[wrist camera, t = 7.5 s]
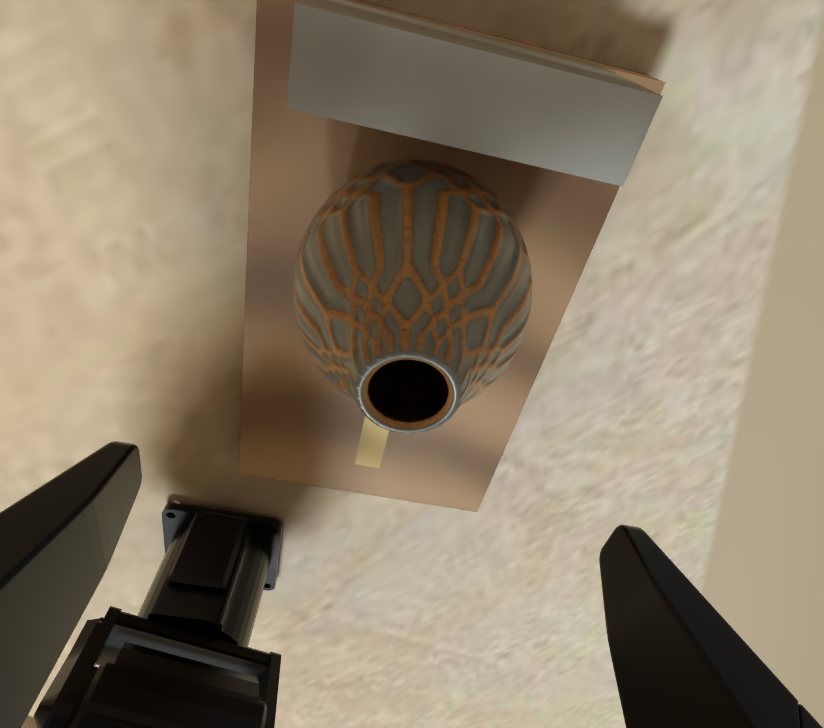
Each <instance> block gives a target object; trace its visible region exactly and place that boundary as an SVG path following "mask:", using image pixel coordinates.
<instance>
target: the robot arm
mask: <svg viewBox="0 0 824 728" xmlns="http://www.w3.org/2000/svg"><path fill="white" fill-rule="evenodd" d="M141 479H142V474H141V464H140V455H139V449H138V447H137V446H136V445H134V444H130V443H123V442H117V441H114V442H111V443H108V444H107V445H105V446H104V447H102V448H100V449H99V450H97V451H96V452H94V453H93V454H91V455H90V456H88V457H86V458H85V459H83V460H82V461H80V462H79V463H77V464H75V465H74V466H72V467H71V468H69V469H68V470H66V471H65V472H63V473H61V474H60V475H58V476H57V477H55V478H54V479H52V480H50V481H49V482H47V483H46V484H44V485H43V486H41V487H40V488H38V489H36V490H35V491H33V492H32V493H30V494H29V495H27V496H25V497H24V498H22V499H21V500H19V501H18V502H16V503H14V504H13V505H11V506H10V507H8V508H7V509H5V510H4V511H2V512H0V728H21V726H22V725H23V723H24V721H25V719H26V717H27V715H28V714H29V712H30V710H31V708H32V706H33V704H34V703H35V701H36V699H37V697H38V695H39V693H40V691H41V690H42V688H43V686H44V684H45V682H46V680H47V679H48V677H49V675H50V673H51V671H52V669H53V668H54V666H55V664H56V662H57V660H58V658H59V656H60V655H61V653H62V651H63V649H64V647H65V645H66V644H67V642H68V640H69V638H70V636H71V634H72V632H73V631H74V629H75V627H76V625H77V623H78V621H79V620H80V618H81V616H82V614H83V612H84V610H85V609H86V607H87V605H88V603H89V601H90V599H91V597H92V596H93V594H94V592H95V590H96V588H97V586H98V585H99V583H100V581H101V579H102V577H103V575H104V573H105V571H106V569H107V567H108V564H109V562H110V560H111V557H112V555H113V553H114V550H115V548H116V545H117V543H118V540H119V538H120V535H121V533H122V530H123V528H124V526H125V523H126V521H127V518H128V516H129V513H130V511H131V508H132V506H133V503H134V501H135V498H136V496H137V493H138V491H139V488H140V485H141ZM162 521H163V533H164V544H165V556H164V559H163V561H162V563H161V565H160V567H159V570H158V572H157V574H156V576H155V578H154V581H153V583H152V585H151V587H150V589H149V592H148V594H147V596H146V598H145V600H144V603H143V605H142V607H141V609H140V611H139V614H138V616H136V615H132V614H129V613H125V612H122V611H121V610H122V609H119V608H115V607H112V606H110V608H109V610H108V612H107V614H106V615H105V617H104V618H102V617H101V618H100V619H93V620H87V622H86V624H85V626H84V628H83V629H82V631H81V633H80V635H79V637H78V639H77V641H76V643H75V644H74V646H73V648H72V650H71V652H70V654H69V655H68V657H67V659H66V661H65V662H64V664H63V666H62V667H61V669H60V671H59V672H58V674H57V676H56V677H55V679H54V681H53V682H52V684H51V686H50V687H49V689H48V691H47V692H46V694H45V696H44V698H43V699H42V701H41V703H40V704H39V706H38V708H37V710H36V712H35V714H34V720H35V723H36V726H37V728H274V724H275V714H276V704H277V694H278V683H279V673H280V663H281V654H277V653H274V652H270V653H266V652H263V651H259V650H256V649H252V648H249V647H248V644H249V640H250V637H251V633H252V629H253V625H254V622H255V618H256V614H257V611H258V607H259V603H260V599H261V596H262V592H263V590H273V589H274V588H275V584H276V580H277V571H278V563H279V554H280V546H281V537H282V529H283V524H282V523H281V522H280V521H279V520H276V519H270V518H264V517H257V516H251V515H244V514H238V513H231V512H225V511H218V510H211V509H205V508H198V507H192V506H185V505H179V504H167V505H166V506H165V508H164V510H163V512H162ZM599 560H600V571H601V581H602V591H603V600H604V610H605V619H606V628H607V636H608V642H609V647H610V653H611V657H612V662H613V667H614V672H615V676H616V681H617V686H618V691H619V696H620V700H621V705H622V710H623V715H624V719H625V724H626V728H822V726H821V725H820V724H819V723H818V722H817V721H816V720H815V719H814V718H813V717H812V715H811V714H810V713H809V712H808V711H807V710H806V709H805V708H804V707H803V706H802V705H801V704H798V700H797V699H796V698H795V697H794V696H793V695H792V694H791V693H790V691H789V690H788V689H787V688H786V687H785V686H784V685H783V684H782V683H781V682H780V680H779V679H778V678H777V677H776V676H775V675H774V674H773V673H772V672H771V670H770V669H769V668H768V667H767V666H766V665H765V664H764V663H763V662H762V661H761V659H760V658H759V657H758V656H757V655H756V654H755V653H754V652H753V651H752V649H751V648H750V647H749V646H748V645H747V644H746V643H745V642H744V641H743V640H742V638H741V637H740V636H739V635H738V634H737V633H736V632H735V631H734V630H733V628H732V627H731V626H730V625H729V624H728V623H727V622H726V621H725V620H724V619H723V618H722V617H721V615H720V614H719V613H718V612H717V611H716V610H715V609H714V608H713V606H712V605H711V604H710V603H709V602H708V601H707V600H706V599H705V598H704V596H703V595H702V594H701V593H700V592H699V591H698V590H697V589H696V588H695V587H694V585H693V584H692V583H691V582H690V581H689V580H688V579H687V578H686V577H685V576H684V574H683V573H682V572H681V571H680V570H679V569H678V568H677V567H676V566H675V565H674V563H673V562H672V561H671V560H670V559H669V558H668V557H667V556H666V555H665V553H664V552H663V551H662V550H661V549H660V548H659V547H658V546H657V545H656V544H655V542H654V541H653V540H652V539H651V538H650V537H649V536H648V535H647V534H646V533H645V532H644V531H643V530H642V529H641V528H638V527H634V526H627V525H620V526H618V527H617V528H616V529H615V530H614V532H613V533H612V535H611V536H610V537H609V539H608V540H607V542H606V543H605V545H604V546H603V548H602V550H601V552H600V559H599ZM96 664H97V665H100V666H99V668H98V667H95V666H96Z"/></svg>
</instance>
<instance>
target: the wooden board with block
mask: <svg viewBox="0 0 824 728" xmlns="http://www.w3.org/2000/svg"><path fill="white" fill-rule="evenodd" d="M664 84H665V82H663V81H660V80H658V79H656V78H653V77H651V76H649V75H645V74H641V73H637V72H633V71H629V70H625V69H622V68H618V67H614V66H610V65H606V64H602V63H598V62H594V61H590V60H587V59H583V58H579V57H575V56H571V55H567V54H563V53H559V52H555V51H552V50H548V49H544V48H540V47H536V46H532V45H528V44H524V43H520V42H517V41H513V40H509V39H505V38H501V37H497V36H493V35H489V34H485V33H482V32H478V31H474V30H470V29H466V28H462V27H458V26H454V25H450V24H447V23H443V22H439V21H435V20H431V19H427V18H423V17H419V16H415V15H412V14H408V13H404V12H400V11H396V10H392V9H388V8H384V7H380V6H377V5H373V4H369V3H365V2H361V1H357V0H257V14H256V40H255V65H254V91H253V116H252V142H251V167H250V193H249V218H248V243H247V269H246V294H245V320H244V345H243V371H242V396H241V422H240V447H239V473H238V474H243V475H249V476H256V477H262V478H268V479H274V480H281V481H287V482H293V483H299V484H305V485H312V486H318V487H324V488H330V489H337V490H343V491H349V492H355V493H361V494H368V495H374V496H380V497H386V498H393V499H399V500H405V501H411V502H417V503H424V504H430V505H436V506H442V507H449V508H455V509H461V510H467V511H473V512H477V511H478V509H479V507H480V504H481V502H482V500H483V498H484V495H485V493H486V491H487V488H488V486H489V484H490V482H491V479H492V477H493V475H494V472H495V470H496V468H497V466H498V463H499V461H500V459H501V456H502V454H503V452H504V450H505V447H506V445H507V443H508V440H509V438H510V436H511V434H512V431H513V429H514V427H515V424H516V422H517V420H518V418H519V415H520V413H521V411H522V408H523V406H524V404H525V402H526V399H527V397H528V395H529V392H530V390H531V388H532V386H533V383H534V381H535V379H536V376H537V374H538V372H539V370H540V367H541V365H542V363H543V360H544V358H545V356H546V354H547V351H548V349H549V347H550V344H551V342H552V340H553V338H554V335H555V333H556V331H557V329H558V326H559V324H560V322H561V319H562V317H563V315H564V313H565V310H566V308H567V306H568V303H569V301H570V299H571V297H572V294H573V292H574V290H575V287H576V285H577V283H578V281H579V278H580V276H581V274H582V271H583V269H584V267H585V265H586V262H587V260H588V258H589V255H590V253H591V251H592V249H593V246H594V244H595V242H596V239H597V237H598V235H599V233H600V230H601V228H602V226H603V223H604V221H605V219H606V217H607V214H608V212H609V210H610V207H611V205H612V203H613V201H614V198H615V196H616V194H617V191H618V189H619V187H620V186H623V185H624V183H625V180H626V178H627V176H628V174H629V171H630V169H631V167H632V165H633V162H634V160H635V158H636V156H637V153H638V151H639V149H640V146H641V144H642V142H643V140H644V137H645V135H646V133H647V131H648V128H649V126H650V124H651V122H652V119H653V117H654V115H655V112H656V110H657V108H658V106H659V103H660V101H661V99H662V97H663V96H661V95H660V93H661V91H662V89H663V86H664ZM407 159H419V160H429V161H435V162H440V163H444V164H447V165H450V166H453V167H455V168H457V169H460V170H462V171H464V172H466V173H468V174H469V175H471V176H473V177H474V178H476V179H477V180H479V181H480V182H482V183H483V184H484V185H486V186H487V187H488V188H489V189H490V190H491V191H493V192H494V193H495V195H496V196H497V197H498V198H499V199H500V200H501V201H502V203H503V204H504V205H505V207H506V208H507V209H508V211H509V212H510V214H511V216H512V217H513V219H514V220H515V222H516V224H517V226H518V228H519V230H520V233H521V235H522V237H523V240H524V242H525V245H526V248H527V252H528V255H529V260H530V264H531V271H532V302H531V309H530V315H529V319H528V323H527V327H526V330H525V333H524V336H523V338H522V341H521V343H520V346H519V348H518V350H517V352H516V354H515V356H514V357H513V359H512V360H511V362H510V364H509V365H508V367H507V368H506V369H505V371H504V372H503V373H502V374H501V375H500V377H499V378H498V379H497V380H496V381H495V382H494V383H493V384H492V385H491V386H489V387H488V388H487V389H486V390H485V391H483V392H482V393H481V394H479V395H478V396H476V397H475V398H473V399H471V400H470V401H468V402H466V403H464V404H463V405H461V406H460V407H459V408H458V410H457V411H456V413H455V414H454V415H453V416H452V417H451V418H450V419H449V420H448V421H447V422H446V423H444V424H443V425H441V426H439V427H437V428H435V429H433V430H430V431H427V432H422V433H415V434H403V433H396V432H392V431H389V430H386V429H383V428H381V427H379V426H377V425H376V424H374V423H373V422H371V421H370V420H369V419H368V418H367V417H366V416H365V415H364V414H363V413H362V412H361V410H360V409H359V407H358V406H357V404H356V402H355V401H354V400H353V399H351V398H350V397H348V396H347V395H345V394H344V393H343V392H341V391H340V390H339V389H338V388H336V387H335V386H334V385H333V384H332V383H331V382H330V381H329V380H328V379H327V378H326V377H325V376H324V375H323V373H322V372H321V371H320V370H319V368H318V367H317V366H316V364H315V363H314V361H313V360H312V358H311V356H310V354H309V353H308V351H307V349H306V347H305V344H304V342H303V340H302V337H301V334H300V331H299V327H298V323H297V319H296V314H295V308H294V298H293V278H294V269H295V263H296V258H297V254H298V251H299V247H300V245H301V242H302V239H303V237H304V234H305V232H306V230H307V228H308V226H309V224H310V223H311V221H312V219H313V218H314V216H315V214H316V213H317V211H318V210H319V209H320V207H321V206H322V205H323V203H324V202H325V201H326V200H327V199H328V198H329V196H330V195H331V194H332V193H333V192H334V191H335V190H336V189H337V188H338V187H340V186H341V185H342V184H343V183H345V182H346V181H347V180H349V179H350V178H352V177H354V176H355V175H357V174H359V173H361V172H363V171H365V170H367V169H370V168H372V167H374V166H377V165H380V164H383V163H387V162H392V161H398V160H407Z"/></svg>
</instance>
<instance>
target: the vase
mask: <svg viewBox="0 0 824 728" xmlns="http://www.w3.org/2000/svg"><path fill="white" fill-rule="evenodd" d="M293 298H294V308H295V314H296V319H297V323H298V327H299V331H300V334H301V337H302V340H303V342H304V344H305V347H306V349H307V351H308V353H309V354H310V356H311V358H312V360H313V361H314V363H315V364H316V366H317V367H318V368H319V370H320V371H321V372H322V373H323V375H324V376H325V377H326V378H327V379H328V380H329V381H330V382H331V383H332V384H333V385H334V386H335V387H336V388H338V389H339V390H340V391H341V392H343V393H344V394H345V395H347V396H348V397H350V398H351V399H353V400H354V401H355V402H356V404H357V406H358V407H359V409H360V410H361V412H362V413H363V414H364V415H365V416H366V417H367V418H368V419H369V420H370V421H371V422H373V423H374V424H376V425H377V426H379V427H381V428H383V429H386V430H389V431H392V432H396V433H403V434H415V433H422V432H427V431H430V430H433V429H435V428H437V427H439V426H441V425H443V424H444V423H446V422H447V421H448V420H449V419H450V418H451V417H452V416H453V415H454V414H455V413H456V411H457V410H458V408H459V407H460V406H461V405H463V404H464V403H466V402H468V401H470V400H471V399H473V398H475V397H476V396H478V395H479V394H481V393H482V392H483V391H485V390H486V389H487V388H488V387H489V386H491V385H492V384H493V383H494V382H495V381H496V380H497V379H498V378H499V377H500V375H501V374H502V373H503V372H504V371H505V369H506V368H507V367H508V365H509V364H510V362H511V360H512V359H513V357H514V356H515V354H516V352H517V350H518V348H519V346H520V343H521V341H522V338H523V336H524V333H525V330H526V327H527V323H528V319H529V315H530V309H531V302H532V271H531V264H530V260H529V255H528V252H527V248H526V245H525V242H524V240H523V237H522V235H521V233H520V230H519V228H518V226H517V224H516V222H515V220H514V219H513V217H512V216H511V214H510V212H509V211H508V209H507V208H506V207H505V205H504V204H503V203H502V201H501V200H500V199H499V198H498V197H497V196H496V195H495V193H494V192H493V191H491V190H490V189H489V188H488V187H487V186H486V185H484V184H483V183H482V182H480V181H479V180H477V179H476V178H474V177H473V176H471V175H469V174H468V173H466V172H464V171H462V170H460V169H457V168H455V167H453V166H450V165H447V164H444V163H440V162H435V161H429V160H419V159H407V160H398V161H392V162H387V163H383V164H380V165H377V166H374V167H372V168H370V169H367V170H365V171H363V172H361V173H359V174H357V175H355V176H354V177H352V178H350V179H349V180H347V181H346V182H345V183H343V184H342V185H341V186H340V187H338V188H337V189H336V190H335V191H334V192H333V193H332V194H331V195H330V196H329V198H328V199H327V200H326V201H325V202H324V203H323V205H322V206H321V207H320V209H319V210H318V211H317V213H316V214H315V216H314V218H313V219H312V221H311V223H310V224H309V226H308V228H307V230H306V232H305V234H304V237H303V239H302V242H301V245H300V247H299V251H298V254H297V258H296V263H295V269H294V278H293Z"/></svg>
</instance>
